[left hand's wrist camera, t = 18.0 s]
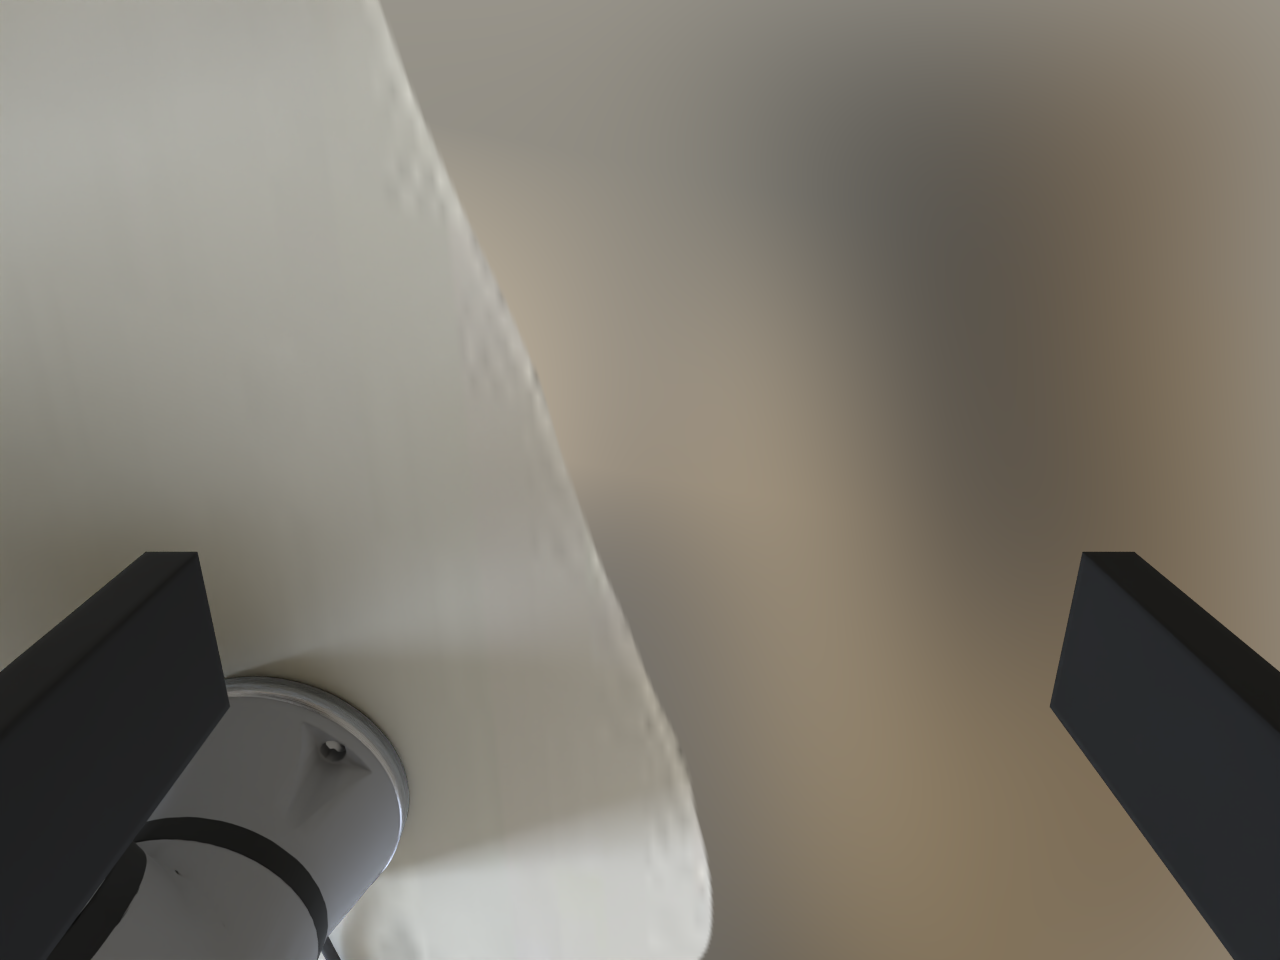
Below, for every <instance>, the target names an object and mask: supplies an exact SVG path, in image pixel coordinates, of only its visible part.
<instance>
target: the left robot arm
mask: <svg viewBox="0 0 1280 960" xmlns="http://www.w3.org/2000/svg"><path fill="white" fill-rule="evenodd" d="M1050 708H1051V709H1052V710H1053V712H1054V713H1055V715H1056V716H1057V717H1058V719H1059V720H1060V721H1061V723H1062V724H1063V726H1064V727H1065V728H1066V730H1067V731H1068V732H1069V734H1070V735H1071V736H1072V738H1073V739H1074V741H1075V742H1076V743H1077V745H1078V746H1079V747H1080V749H1081V750H1082V752H1083V753H1084V754H1085V756H1086V757H1087V759H1088V760H1089V761H1090V763H1091V764H1092V765H1093V767H1094V768H1095V769H1096V771H1097V772H1098V774H1099V775H1100V776H1101V778H1102V779H1103V780H1104V782H1105V783H1106V785H1107V786H1108V787H1109V789H1110V790H1111V791H1112V793H1113V794H1114V796H1115V797H1116V798H1117V800H1118V801H1119V802H1120V804H1121V805H1122V807H1123V808H1124V809H1125V811H1126V812H1127V813H1128V815H1129V816H1130V818H1131V819H1132V820H1133V822H1134V823H1135V824H1136V826H1137V827H1138V828H1139V830H1140V831H1141V833H1142V834H1143V835H1144V837H1145V838H1146V839H1147V841H1148V842H1149V844H1150V845H1151V846H1152V848H1153V849H1154V851H1155V852H1156V853H1157V855H1158V856H1159V857H1160V859H1161V860H1162V862H1163V863H1164V864H1165V865H1166V867H1167V868H1168V870H1169V871H1170V873H1171V874H1172V875H1173V877H1174V878H1175V879H1176V881H1177V882H1178V883H1179V885H1180V886H1181V888H1182V889H1183V890H1184V892H1185V893H1186V894H1187V896H1188V897H1189V899H1190V900H1191V901H1192V903H1193V904H1194V905H1195V907H1196V908H1197V910H1198V911H1199V912H1200V914H1201V915H1202V916H1203V918H1204V919H1205V920H1206V922H1207V923H1208V925H1209V926H1210V927H1211V929H1212V930H1213V932H1214V933H1215V934H1216V936H1217V937H1218V938H1219V940H1220V941H1221V943H1222V944H1223V945H1224V947H1225V948H1226V949H1227V951H1228V952H1229V954H1230V955H1231V956H1232V958H1233V959H1234V960H1280V672H1279V671H1278V670H1277V669H1276V668H1274V667H1273V666H1272V665H1271V664H1269V663H1268V662H1267V661H1266V660H1265V659H1263V658H1262V657H1261V656H1260V655H1259V654H1257V653H1256V652H1255V651H1254V650H1253V649H1251V648H1250V647H1249V646H1248V645H1246V644H1245V643H1244V642H1243V641H1242V640H1240V639H1239V638H1238V637H1237V636H1236V635H1234V634H1233V633H1232V632H1231V631H1229V630H1228V629H1227V628H1226V627H1225V626H1223V625H1222V624H1221V623H1220V622H1219V621H1217V620H1216V619H1215V618H1214V617H1213V616H1211V615H1210V614H1209V613H1208V612H1206V611H1205V610H1204V609H1203V608H1202V607H1200V606H1199V605H1198V604H1197V603H1196V602H1194V601H1193V600H1192V599H1191V598H1190V597H1188V596H1187V595H1186V594H1185V593H1183V592H1182V591H1181V590H1180V589H1179V588H1177V587H1176V586H1175V585H1174V584H1173V583H1171V582H1170V581H1169V580H1168V579H1166V578H1165V577H1164V576H1163V575H1162V574H1160V573H1159V572H1158V571H1157V570H1156V569H1154V568H1153V567H1152V566H1151V565H1150V564H1148V563H1147V562H1146V561H1145V560H1143V559H1142V558H1141V557H1140V556H1139V555H1137V554H1136V553H1135V552H1082V557H1081V562H1080V567H1079V571H1078V576H1077V581H1076V585H1075V590H1074V595H1073V600H1072V605H1071V609H1070V614H1069V618H1068V623H1067V628H1066V633H1065V637H1064V642H1063V647H1062V651H1061V656H1060V661H1059V666H1058V670H1057V675H1056V680H1055V684H1054V689H1053V694H1052V699H1051V703H1050ZM408 809H409V788H408V782H407V777H406V774H405V771H404V768H403V765H402V763H401V761H400V758H399V756H398V755H397V753H396V751H395V749H394V747H393V746H392V745H391V743H390V742H389V740H388V739H387V738H386V736H385V735H384V734H383V733H382V732H381V730H380V729H379V728H378V727H377V726H376V725H375V724H374V723H373V722H372V721H371V720H370V719H368V718H367V717H366V716H365V715H363V714H362V713H361V712H360V711H358V710H357V709H356V708H354V707H353V706H351V705H350V704H348V703H346V702H345V701H343V700H341V699H340V698H338V697H336V696H334V695H332V694H330V693H327V692H325V691H323V690H320V689H318V688H315V687H313V686H310V685H306V684H303V683H299V682H295V681H291V680H286V679H280V678H272V677H238V678H230V679H225V680H224V675H223V670H222V666H221V661H220V656H219V651H218V647H217V642H216V637H215V633H214V628H213V623H212V618H211V614H210V609H209V604H208V600H207V595H206V590H205V585H204V581H203V576H202V571H201V567H200V562H199V557H198V553H197V552H145V553H144V554H143V555H141V556H140V557H139V558H138V559H137V560H135V561H134V562H133V563H132V564H130V565H129V566H128V567H127V568H126V569H124V570H123V571H122V572H121V573H120V574H118V575H117V576H116V577H115V578H113V579H112V580H111V581H110V582H109V583H107V584H106V585H105V586H104V587H103V588H101V589H100V590H99V591H98V592H97V593H95V594H94V595H93V596H92V597H90V598H89V599H88V600H87V601H86V602H84V603H83V604H82V605H81V606H80V607H78V608H77V609H76V610H75V611H74V612H72V613H71V614H70V615H69V616H67V617H66V618H65V619H64V620H63V621H61V622H60V623H59V624H58V625H57V626H55V627H54V628H53V629H52V630H50V631H49V632H48V633H47V634H46V635H44V636H43V637H42V638H41V639H40V640H38V641H37V642H36V643H35V644H34V645H32V646H31V647H30V648H29V649H27V650H26V651H25V652H24V653H23V654H21V655H20V656H19V657H18V658H17V659H15V660H14V661H13V662H12V663H11V664H9V665H8V666H7V667H6V668H4V669H3V670H2V671H1V672H0V960H318V958H319V955H320V953H321V952H322V953H323V955H324V957H325V959H326V960H341V959H340V958H339V956H338V954H337V952H336V950H335V948H334V947H333V945H332V943H331V941H330V939H329V937H328V935H329V934H330V933H331V932H332V931H333V929H334V928H335V927H336V926H337V925H338V924H339V922H340V921H341V920H342V919H343V918H344V917H345V915H346V914H347V913H348V912H349V911H350V909H351V908H352V907H353V906H354V905H355V904H356V902H357V901H358V900H359V899H360V897H361V896H362V895H363V894H364V892H365V891H366V890H367V889H368V887H369V886H370V885H371V884H372V883H373V882H374V881H375V880H376V879H377V878H378V877H379V875H380V874H381V873H382V872H383V871H384V869H385V868H386V867H387V865H388V864H389V862H390V861H391V859H392V857H393V855H394V853H395V851H396V848H397V845H398V842H399V840H400V837H401V834H402V831H403V828H404V825H405V822H406V819H407V814H408Z"/></svg>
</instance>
